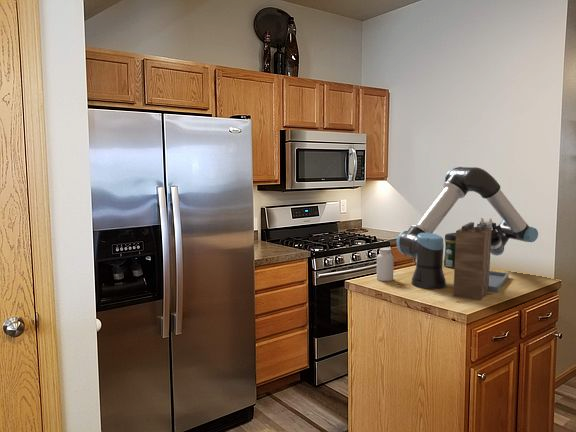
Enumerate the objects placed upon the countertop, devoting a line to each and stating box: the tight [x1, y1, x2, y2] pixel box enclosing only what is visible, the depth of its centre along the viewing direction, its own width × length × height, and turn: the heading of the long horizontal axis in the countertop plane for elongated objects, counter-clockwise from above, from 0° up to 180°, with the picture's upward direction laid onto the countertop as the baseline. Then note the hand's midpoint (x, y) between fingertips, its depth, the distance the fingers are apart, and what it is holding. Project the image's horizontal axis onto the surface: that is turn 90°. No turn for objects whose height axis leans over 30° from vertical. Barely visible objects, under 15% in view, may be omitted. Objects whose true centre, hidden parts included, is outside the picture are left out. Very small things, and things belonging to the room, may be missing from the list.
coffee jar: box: [443, 232, 456, 269], centre depth 248 cm, size 10×8×19 cm
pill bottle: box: [376, 247, 395, 282], centre depth 221 cm, size 8×8×15 cm
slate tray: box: [488, 270, 509, 293], centre depth 217 cm, size 31×18×2 cm, turn 146°
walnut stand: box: [452, 221, 493, 301], centre depth 196 cm, size 16×11×30 cm
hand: (485, 220), depth 214 cm, fingers closed on steel bar, 3 cm apart
